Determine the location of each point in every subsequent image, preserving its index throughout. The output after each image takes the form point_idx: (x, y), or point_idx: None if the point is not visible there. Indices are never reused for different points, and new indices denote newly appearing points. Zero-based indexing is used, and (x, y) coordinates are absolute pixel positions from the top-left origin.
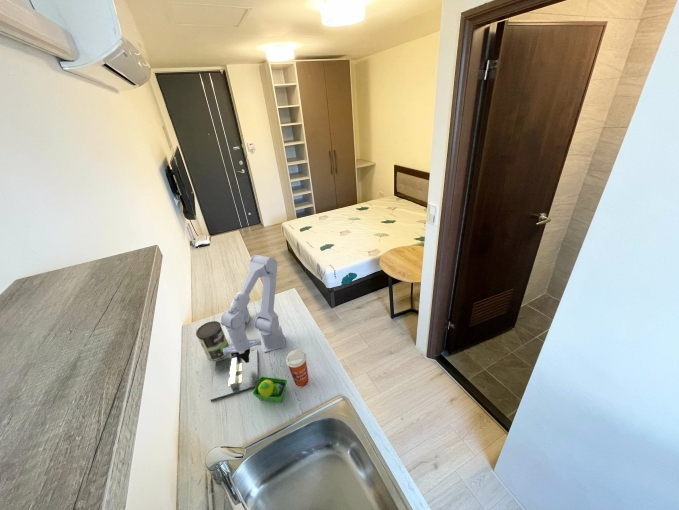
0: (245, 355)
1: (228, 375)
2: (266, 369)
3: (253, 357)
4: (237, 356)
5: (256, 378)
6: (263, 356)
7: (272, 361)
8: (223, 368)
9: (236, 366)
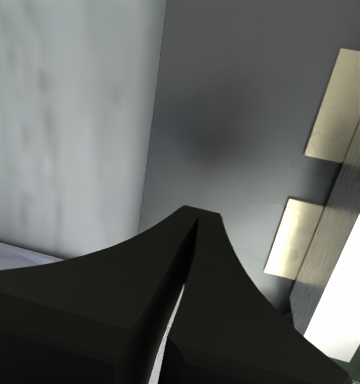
0: (136, 284)
1: None
2: (91, 103)
3: None
4: (350, 381)
5: (178, 16)
6: (101, 240)
7: (40, 156)
8: None
9: (332, 250)
